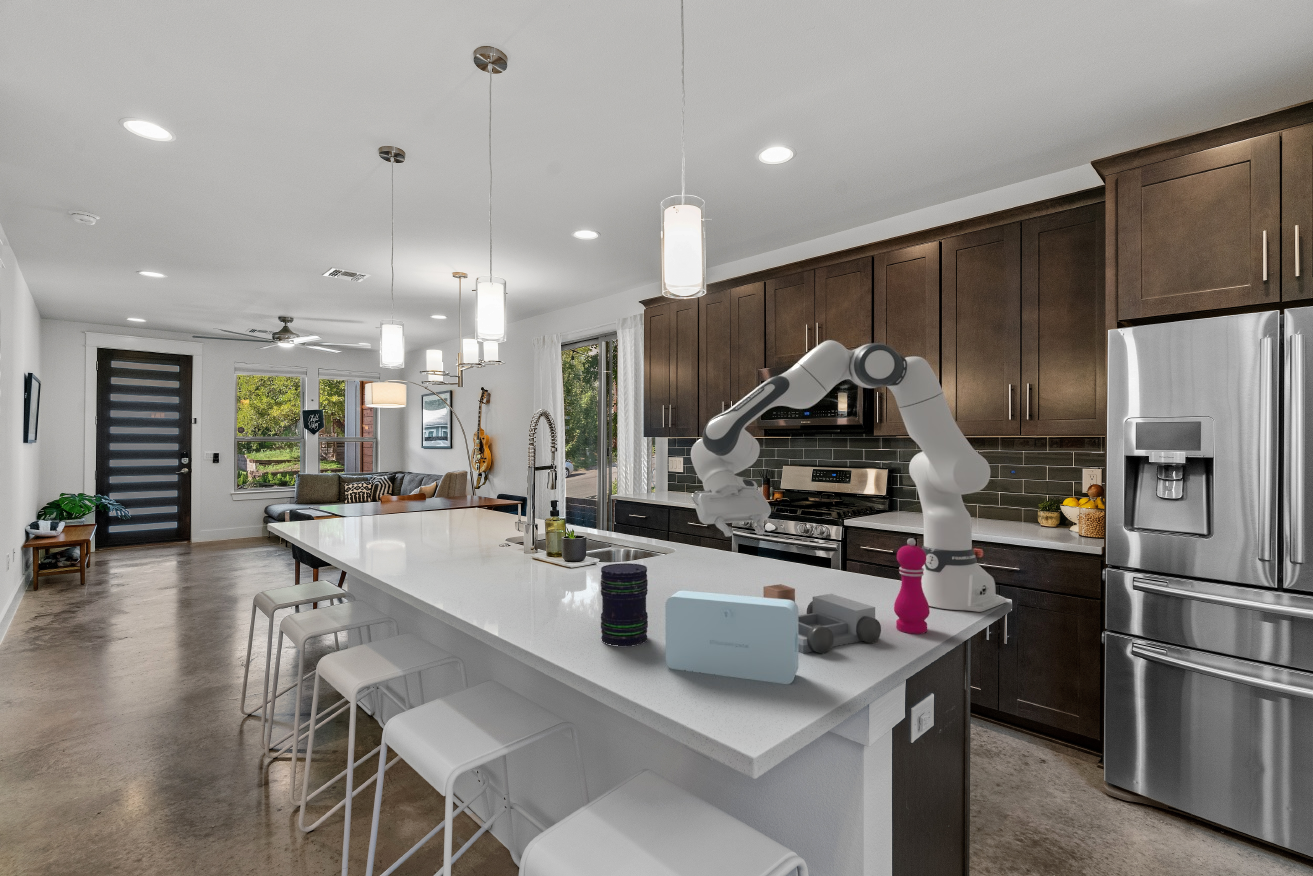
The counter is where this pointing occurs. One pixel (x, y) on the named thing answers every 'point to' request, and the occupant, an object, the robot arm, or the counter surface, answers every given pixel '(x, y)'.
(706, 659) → the light blue box
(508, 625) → the counter surface
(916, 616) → the pepper mill
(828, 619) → the chassis
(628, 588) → the storage jar
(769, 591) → the brown rectangular block
